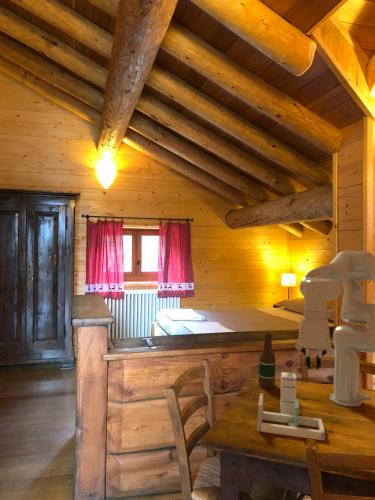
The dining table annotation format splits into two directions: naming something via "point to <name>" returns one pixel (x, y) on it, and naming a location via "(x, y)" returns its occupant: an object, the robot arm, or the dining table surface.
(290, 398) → the syrup box
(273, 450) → the dining table surface
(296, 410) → the plate
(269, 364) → the beer bottle
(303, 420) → the white angular frame
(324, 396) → the dining table surface
